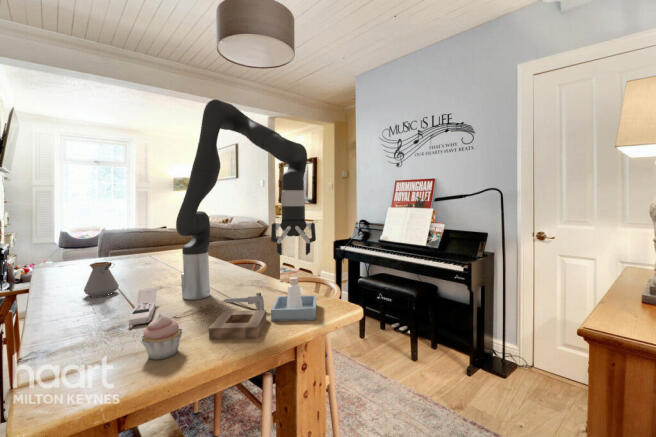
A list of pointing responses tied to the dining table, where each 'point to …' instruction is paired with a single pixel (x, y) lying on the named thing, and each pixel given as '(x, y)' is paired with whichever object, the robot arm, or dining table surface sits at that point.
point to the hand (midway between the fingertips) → (293, 254)
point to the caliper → (250, 300)
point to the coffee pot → (101, 280)
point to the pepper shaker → (294, 294)
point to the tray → (284, 314)
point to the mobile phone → (143, 307)
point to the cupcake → (161, 337)
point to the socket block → (238, 324)
